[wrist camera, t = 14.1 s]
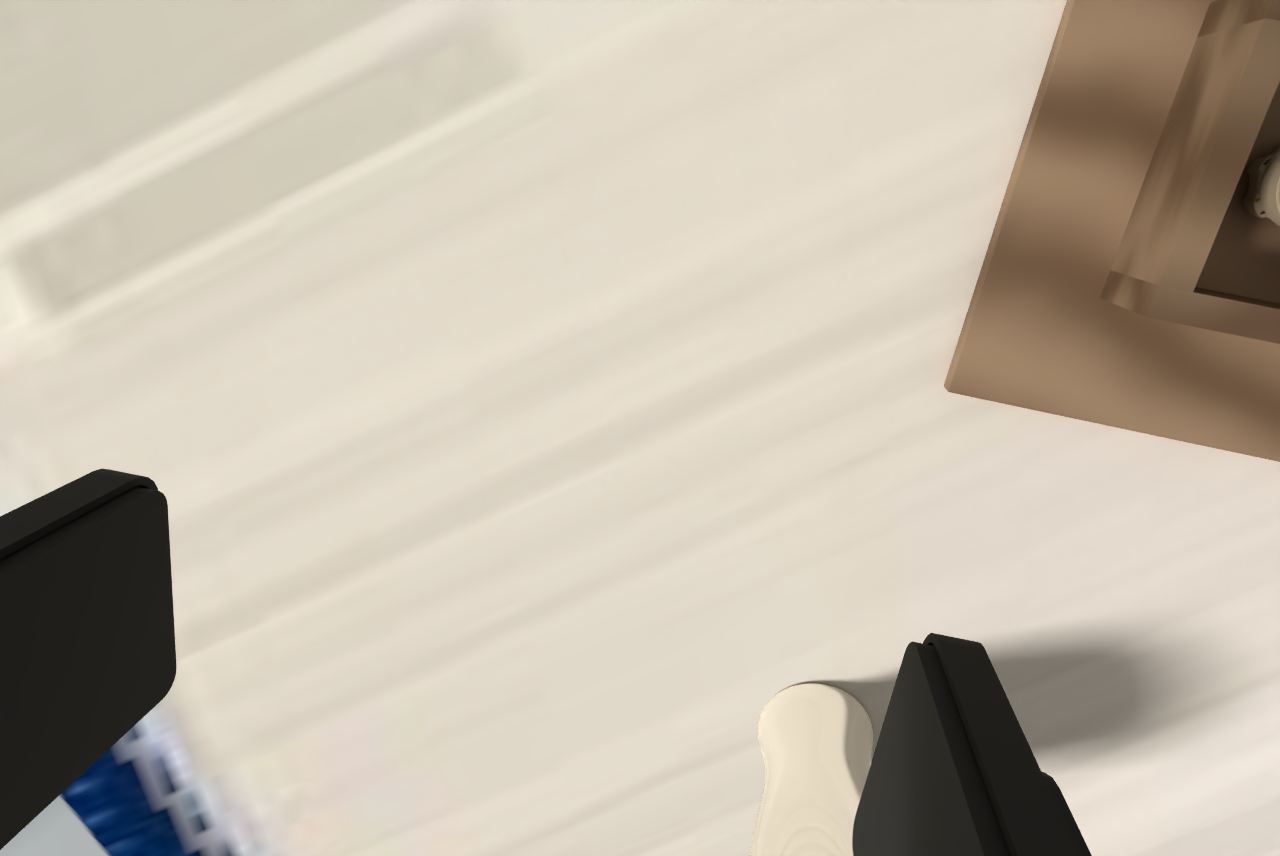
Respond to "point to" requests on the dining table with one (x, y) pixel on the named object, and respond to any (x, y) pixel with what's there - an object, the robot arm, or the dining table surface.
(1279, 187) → the handle
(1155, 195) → the holder
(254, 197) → the dining table surface
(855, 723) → the beer glass
